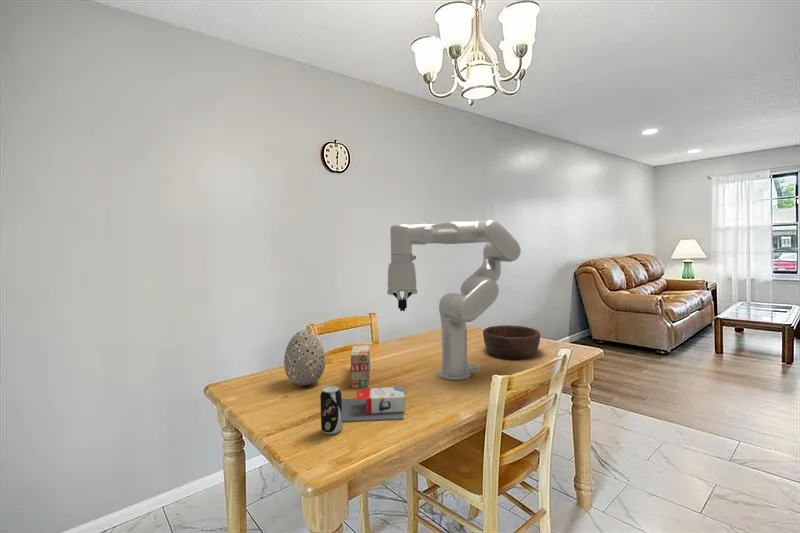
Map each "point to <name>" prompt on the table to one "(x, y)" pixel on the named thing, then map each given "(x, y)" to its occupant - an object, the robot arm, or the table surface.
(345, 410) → the mat
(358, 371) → the stack of blocks
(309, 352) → the ornament
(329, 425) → the beverage can
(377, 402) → the ink box
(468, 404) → the table surface
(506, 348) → the wooden bowl
